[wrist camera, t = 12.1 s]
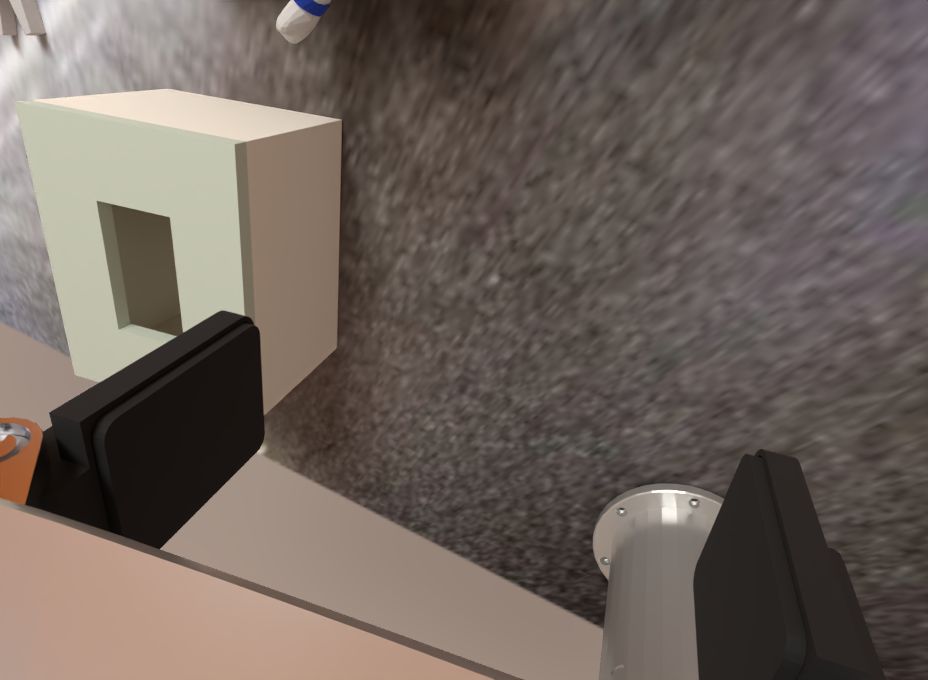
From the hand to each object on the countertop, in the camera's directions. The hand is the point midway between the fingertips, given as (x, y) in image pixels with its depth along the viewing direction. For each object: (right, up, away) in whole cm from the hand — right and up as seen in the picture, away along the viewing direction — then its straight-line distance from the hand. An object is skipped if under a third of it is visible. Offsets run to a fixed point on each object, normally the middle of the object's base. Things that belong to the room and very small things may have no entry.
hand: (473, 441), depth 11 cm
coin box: (-16, +11, +35) cm, 40 cm away
